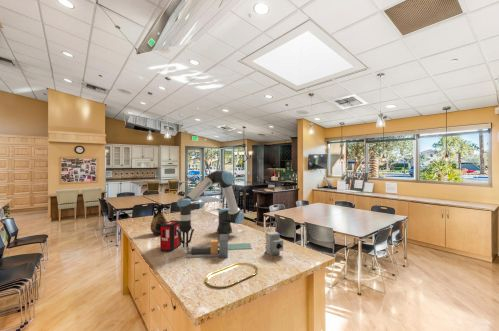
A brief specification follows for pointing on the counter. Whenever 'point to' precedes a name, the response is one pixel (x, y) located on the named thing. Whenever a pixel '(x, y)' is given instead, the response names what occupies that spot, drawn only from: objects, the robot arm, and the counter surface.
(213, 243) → the plug
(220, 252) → the housing
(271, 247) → the circuit breaker
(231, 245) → the mat
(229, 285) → the gold oval ring
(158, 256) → the counter surface
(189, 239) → the robot arm
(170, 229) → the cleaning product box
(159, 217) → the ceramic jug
